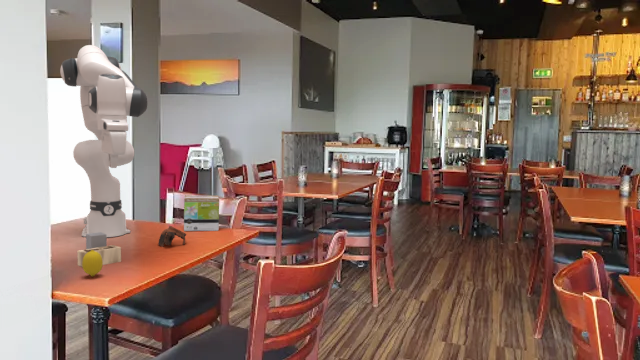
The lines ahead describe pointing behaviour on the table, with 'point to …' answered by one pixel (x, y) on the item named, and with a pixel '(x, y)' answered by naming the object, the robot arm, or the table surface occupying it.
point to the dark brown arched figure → (170, 236)
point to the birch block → (103, 254)
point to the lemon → (92, 263)
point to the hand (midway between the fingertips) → (113, 167)
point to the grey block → (96, 240)
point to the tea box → (201, 213)
